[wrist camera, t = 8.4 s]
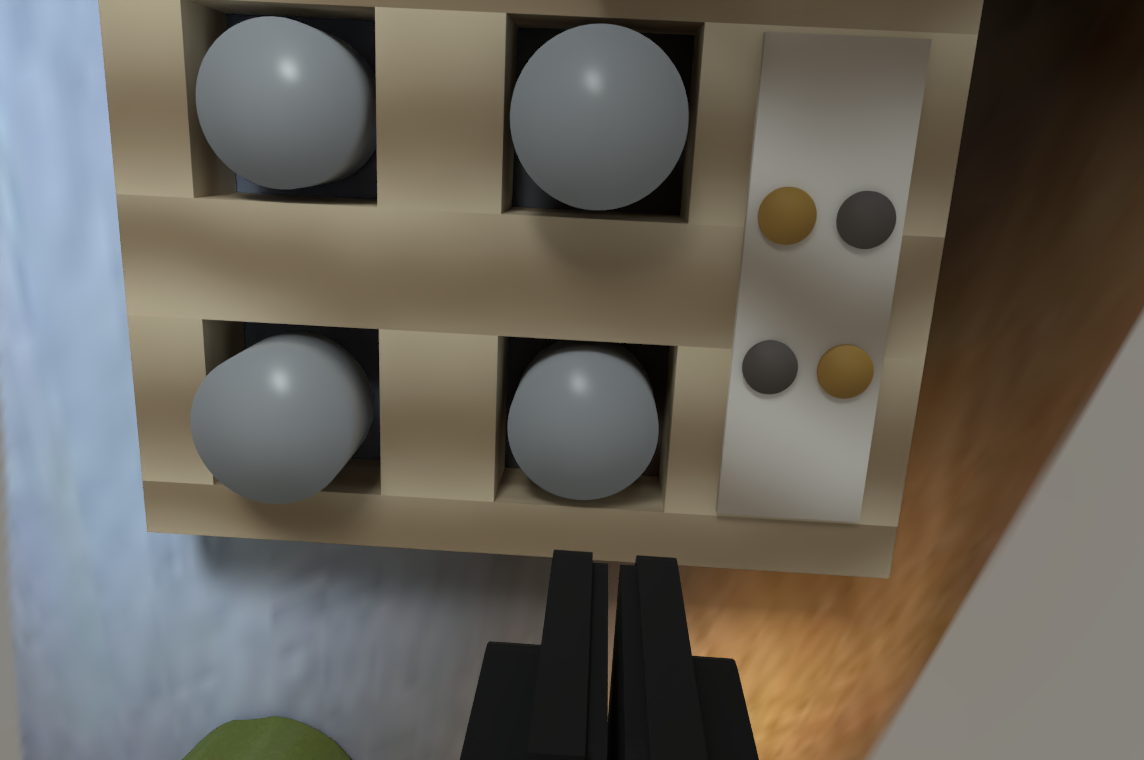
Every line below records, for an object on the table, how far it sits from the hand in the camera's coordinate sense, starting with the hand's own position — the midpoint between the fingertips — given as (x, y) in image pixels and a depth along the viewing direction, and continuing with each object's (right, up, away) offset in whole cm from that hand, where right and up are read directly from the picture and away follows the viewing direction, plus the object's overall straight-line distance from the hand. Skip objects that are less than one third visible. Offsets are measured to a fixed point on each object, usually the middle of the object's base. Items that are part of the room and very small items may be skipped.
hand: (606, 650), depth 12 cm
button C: (-9, +3, +16) cm, 18 cm away
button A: (-9, +12, +15) cm, 21 cm away
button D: (0, +3, +17) cm, 17 cm away
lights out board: (-2, +7, +17) cm, 18 cm away
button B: (0, +11, +13) cm, 17 cm away
